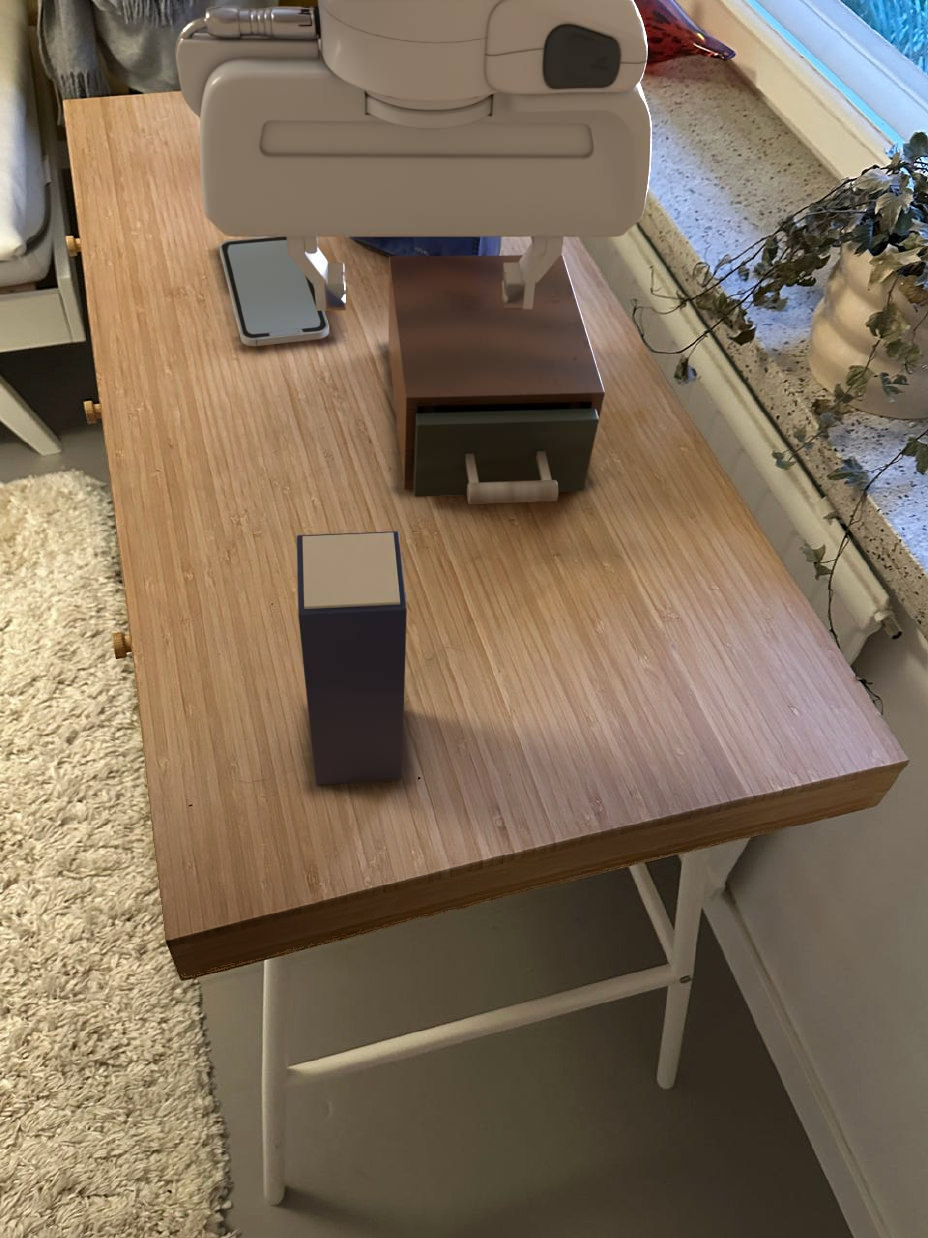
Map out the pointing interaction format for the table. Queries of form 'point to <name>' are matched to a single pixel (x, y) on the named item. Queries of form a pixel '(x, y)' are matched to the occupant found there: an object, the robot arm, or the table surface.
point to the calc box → (353, 653)
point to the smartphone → (270, 293)
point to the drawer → (503, 451)
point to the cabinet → (482, 341)
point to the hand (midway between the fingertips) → (424, 303)
